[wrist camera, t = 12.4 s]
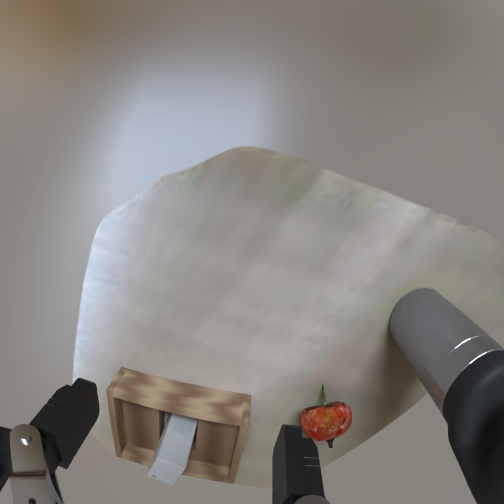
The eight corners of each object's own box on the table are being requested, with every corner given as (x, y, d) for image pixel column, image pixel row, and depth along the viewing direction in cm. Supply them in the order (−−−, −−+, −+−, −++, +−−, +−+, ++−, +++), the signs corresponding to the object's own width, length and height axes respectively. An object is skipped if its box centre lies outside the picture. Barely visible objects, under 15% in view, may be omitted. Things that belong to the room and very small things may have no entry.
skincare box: (188, 433, 47) (173, 487, 35) (165, 423, 47) (145, 476, 35) (201, 413, 46) (186, 469, 34) (176, 402, 45) (155, 457, 34)
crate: (251, 395, 44) (248, 422, 38) (236, 458, 48) (233, 483, 42) (121, 367, 44) (106, 389, 38) (127, 433, 48) (116, 456, 42)
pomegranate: (294, 386, 46) (295, 446, 42) (305, 386, 39) (307, 456, 35) (340, 382, 47) (341, 441, 43) (357, 381, 40) (359, 449, 36)
